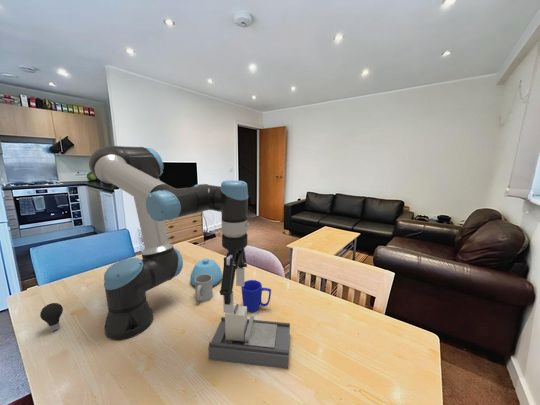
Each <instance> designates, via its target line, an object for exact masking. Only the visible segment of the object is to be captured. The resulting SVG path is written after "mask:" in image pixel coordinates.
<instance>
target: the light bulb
mask: <svg viewBox="0 0 540 405" xmlns="http://www.w3.org/2000/svg"><path fill="white" fill-rule="evenodd" d="M63 309H64V308H63V306H62V304H60V303H58V302H53V303H52V302H51V303H49V304H46V305H44V307H43V308H42V309H41V311H40V315H39V316H40V319H41V320H42V321H44V322H45V323H46V324H47V325H48V327H49V330H50V331H51V332H53V331H57V330H58V329H59V328H60V318H61V317H62V314H63V311H64V310H63Z"/></svg>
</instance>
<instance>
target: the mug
mask: <svg viewBox="0 0 540 405" xmlns="http://www.w3.org/2000/svg"><path fill="white" fill-rule="evenodd" d="M240 288H241V297H242V306H247V312H255V311H258V310H259V308H260V307H261V306H262V307H267V306H268V305H269V304H270V301H271V295H272V289H271V288H268V287H263V285H262V283H261V281H259V280H256V279H249V280H244V286H240ZM263 291H264V292H268V299H267V301H266V303H263V302H262V294H263Z"/></svg>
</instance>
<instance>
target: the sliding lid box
mask: <svg viewBox="0 0 540 405" xmlns="http://www.w3.org/2000/svg"><path fill="white" fill-rule="evenodd" d="M249 320H250V318H247V327H248V323H249ZM254 322H255V323H266V324H277V331H276V340H275V348H274V349H271V348H262V347H252V346H245V340H244V341H236V340H233V341H232V344H229V340H226V336H225V316H221V318H220V323H219V325H218V327H217V328H216V331H215V333H214V335H213V337H212V338H211V341H209V343H208V349H207V350H208V351H207V352H208V360H211V361H220V362H227V363H236V364H245V365H246V364H247V365H252V366H253V365H255V366H264V367H272V368H280V369H289V360H290V358H289V356H290V354H289V353H290V336H291V334H290V332H291V331H290V329H291V323H290V322H283V321H281V322H279V321H270V320H269V321H268V320H259V319H254Z"/></svg>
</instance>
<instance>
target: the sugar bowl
mask: <svg viewBox="0 0 540 405" xmlns="http://www.w3.org/2000/svg"><path fill="white" fill-rule="evenodd" d="M202 274H208V275H211V276H212V287H214V286H216V285H218V283H220V282H221V281H222V275H223V271H222V270H221V267H220V266H219V264H218V263H217V262H216V261H215V260H213V259H210V258H204V259H203V258H202V259H201V260H199V261H198V262H196V264H195V265H194V267H193V269H192V271H191V273H190V283H191V284H192V285H193V286H194V287H195V278H196V277H197V276H199V275H202Z"/></svg>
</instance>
